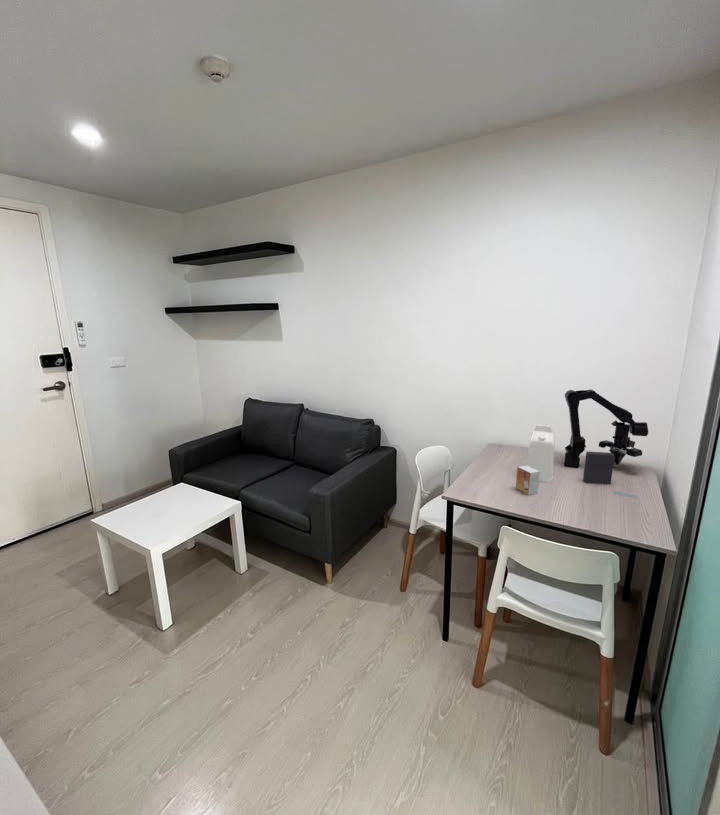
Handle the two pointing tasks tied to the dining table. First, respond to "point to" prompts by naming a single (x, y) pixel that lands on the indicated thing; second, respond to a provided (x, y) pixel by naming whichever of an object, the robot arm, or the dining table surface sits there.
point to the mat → (624, 494)
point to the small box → (527, 480)
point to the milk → (542, 452)
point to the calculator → (598, 467)
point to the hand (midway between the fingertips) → (617, 464)
